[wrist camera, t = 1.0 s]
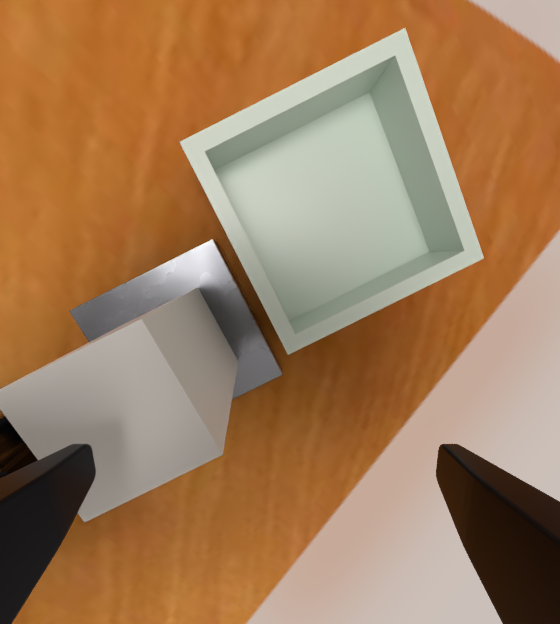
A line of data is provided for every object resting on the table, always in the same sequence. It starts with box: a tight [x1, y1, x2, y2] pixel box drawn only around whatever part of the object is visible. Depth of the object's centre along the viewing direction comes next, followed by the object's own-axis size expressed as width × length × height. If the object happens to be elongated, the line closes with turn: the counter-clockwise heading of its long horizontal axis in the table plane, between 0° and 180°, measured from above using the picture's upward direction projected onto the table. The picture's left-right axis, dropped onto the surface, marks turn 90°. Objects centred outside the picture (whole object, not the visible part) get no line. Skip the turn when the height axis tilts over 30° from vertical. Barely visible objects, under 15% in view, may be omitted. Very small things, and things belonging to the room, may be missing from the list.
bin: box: [180, 28, 484, 355], centre depth 17 cm, size 11×11×4 cm
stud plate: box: [70, 239, 283, 399], centre depth 18 cm, size 9×9×4 cm
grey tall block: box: [0, 287, 238, 522], centre depth 14 cm, size 5×5×9 cm
